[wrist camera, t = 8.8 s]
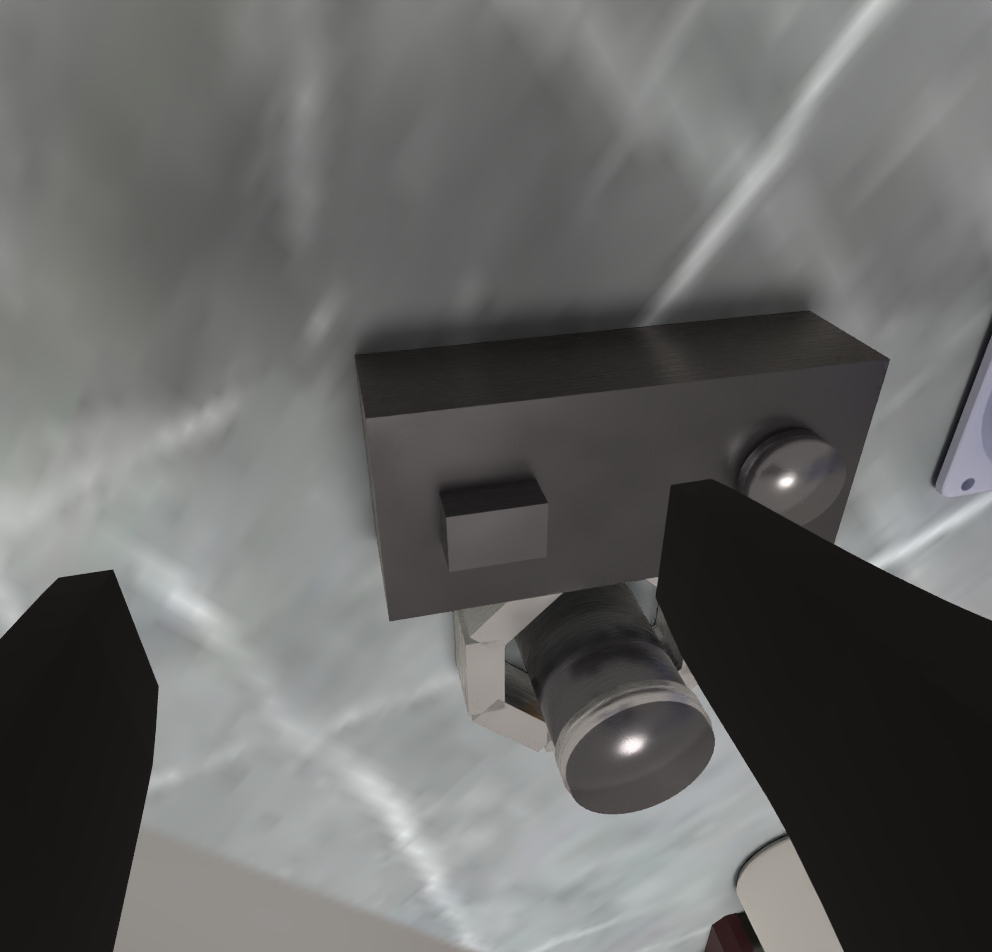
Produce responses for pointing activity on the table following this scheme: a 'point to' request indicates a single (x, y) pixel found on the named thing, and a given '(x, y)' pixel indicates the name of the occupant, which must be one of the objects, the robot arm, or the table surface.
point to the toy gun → (733, 935)
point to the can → (784, 902)
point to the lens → (613, 702)
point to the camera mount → (592, 467)
